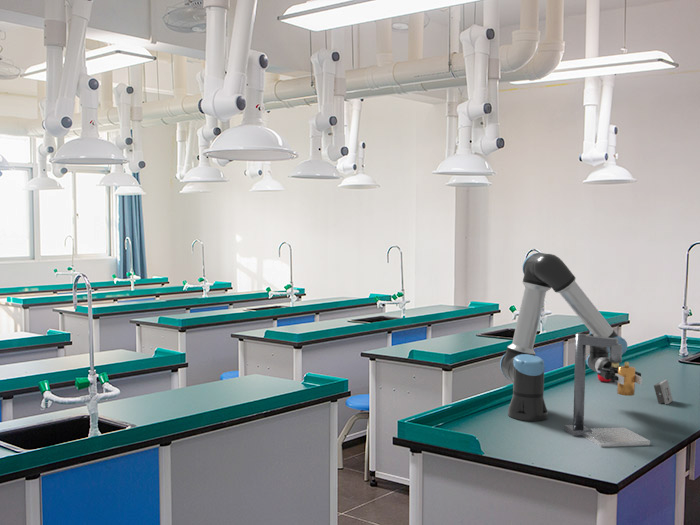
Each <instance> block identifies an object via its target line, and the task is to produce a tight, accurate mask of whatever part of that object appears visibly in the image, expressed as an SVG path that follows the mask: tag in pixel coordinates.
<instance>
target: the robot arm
mask: <svg viewBox="0 0 700 525" xmlns="http://www.w3.org/2000/svg"><path fill="white" fill-rule="evenodd" d="M522 272H523V278H522V284H523V286H524V291H523V296H522V300H521V303H520V308H519V312H518V317H517V320H516V325H515V329H514V333H513V338H512V343H511V344H508V345H507V347H506V352H505V353H504V354H503V355H502V356H501V359H500V361H499V368H500V371H501V373H502V375H504V377H505V378H506V379H507V380H509V381H511V382H512V398H511V400H510V403H509V404H508V408H507V415H508V416H509V417H510V418H512V419H515V420H520V421H526V422H527V421H528V422H539V421H545V420H547V419H548V416H549V415H548V414H549V413H548V409H547V405H546V402H545V398H544V393H545V392H544V389H545V369H546V367H545V361H544V359H542V358H541V357H540V356H537V355H536V352H535V350H534V345H535V342H536V337H537V332H538V328H539V326H540V325H539V324H540V319H541V315H542V312H543V307H544V303H545V299H546V295H547V292H549V291H550V290H551V289H552V290H553V292H555V293H556V294H559V295H560V296H561V297H562V298H563V300H565V302H566V303H567V304H568V306H569V307H570V308H571V309H572V310H573V312H574V313H575V315H576V316H577V317H578V318H579V319H580V321H581V322H582V323H583V324H584V326H585V327H586V328H587V329H588V330H589V334H588V336H597V337H608V338H618V344H621V345H622V356H623V355H624V354H625V353H626V352H627V349H628V343H627V341H626V339H625V338H623V337H622V336H619V335H618V333H617V332H616V330H614V328H613V327H612V326H611V325H610V324H609V322H608V321H607V319H606V318H605V317H604V315H602V313H601V312H600V311H599V309H598V308H597V307H596V306H595V305H594V303H593V302H592V301H591V299H590V298H589V297H588V296H587V294H586V293H585V292H584V291H583V289H582V288H581V287H580V286H579V284H578V283H577V282H576V276H575V274H573V272H572V271H571V270H570V269H569V267H568V266H567V265H566V263H565V262H564V261H563V260H562V259H561V258H560V257H558V256H557V255H555V254H552V253H545V252H544V253H543V252H536V253H532V254H530V255H529V256H527V257H526V258H525V259H524V261H523V263H522ZM609 355H610V347H600V346H590V345H589V354H588V356H586V362H585V363H586V365H587V367H588V368H589V369H590V370H591V371H593V372H595V373H597V376H598V375H600V376H602V377H603V378H605V379H607V380H609V379H611V381H610V382H611V383H615V382H617V384H618V383H620V384H623V385H624V377H623V376H621V375H619V374H618V368H613V367H612V362H610V361H609ZM619 366H621V365H620V364H619ZM635 384H638V385H640V386H641V385H643V377H642V373H641V372H639V371H636V370H635Z"/></svg>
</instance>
